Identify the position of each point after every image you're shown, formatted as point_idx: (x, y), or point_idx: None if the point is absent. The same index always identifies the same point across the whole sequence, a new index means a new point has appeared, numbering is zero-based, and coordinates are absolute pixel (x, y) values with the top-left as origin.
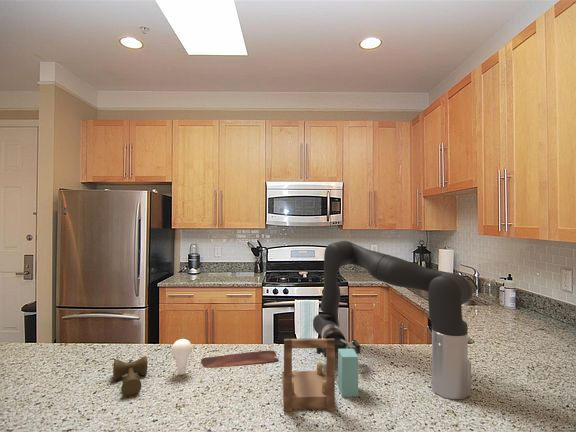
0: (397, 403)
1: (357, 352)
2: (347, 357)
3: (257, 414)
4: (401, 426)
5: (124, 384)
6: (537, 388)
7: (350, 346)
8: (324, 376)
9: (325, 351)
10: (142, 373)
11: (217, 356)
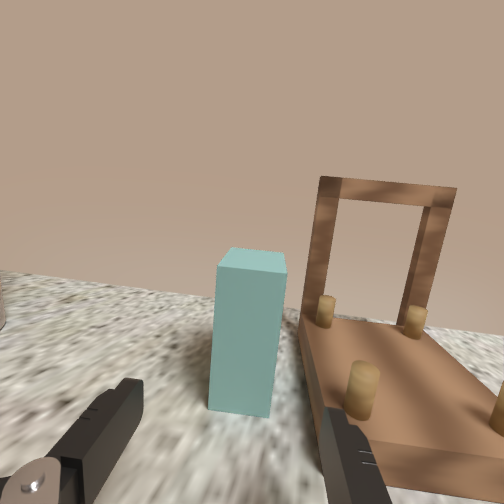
0: (144, 327)
1: (100, 398)
2: (266, 252)
3: (461, 349)
4: (194, 296)
5: None
6: None
7: (57, 500)
8: (331, 388)
9: (357, 448)
10: None
11: None
